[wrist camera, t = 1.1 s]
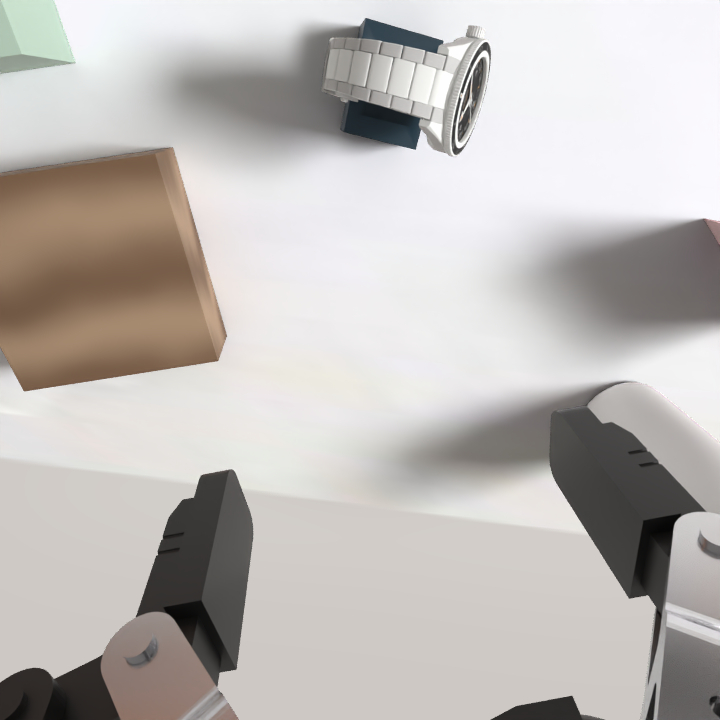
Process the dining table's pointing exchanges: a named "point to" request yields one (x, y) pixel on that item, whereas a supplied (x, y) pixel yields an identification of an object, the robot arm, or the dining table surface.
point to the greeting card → (714, 228)
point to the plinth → (102, 272)
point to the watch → (409, 85)
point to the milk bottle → (666, 437)
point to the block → (31, 36)
